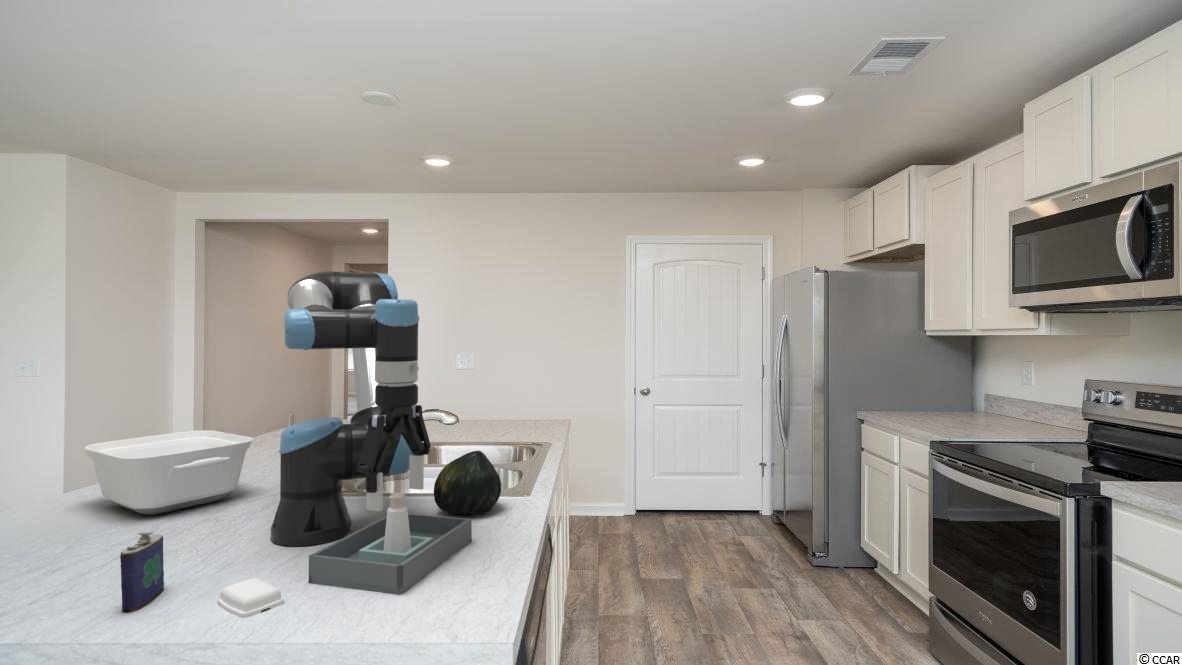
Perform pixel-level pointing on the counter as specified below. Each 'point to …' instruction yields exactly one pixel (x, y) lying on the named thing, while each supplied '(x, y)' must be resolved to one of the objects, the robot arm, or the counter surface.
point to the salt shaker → (397, 526)
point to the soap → (249, 597)
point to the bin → (389, 555)
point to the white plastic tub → (169, 469)
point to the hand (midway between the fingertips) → (396, 498)
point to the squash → (467, 485)
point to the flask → (142, 572)
